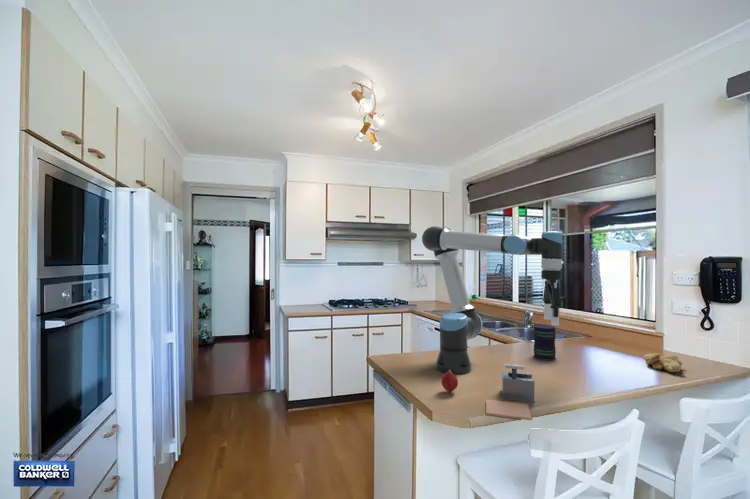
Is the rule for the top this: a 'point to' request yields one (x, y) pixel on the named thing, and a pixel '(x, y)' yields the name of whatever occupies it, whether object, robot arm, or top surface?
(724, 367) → the top surface
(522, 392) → the c link
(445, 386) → the onion
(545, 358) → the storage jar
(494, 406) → the tile
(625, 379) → the top surface
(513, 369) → the post stand
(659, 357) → the ginger root
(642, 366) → the top surface
